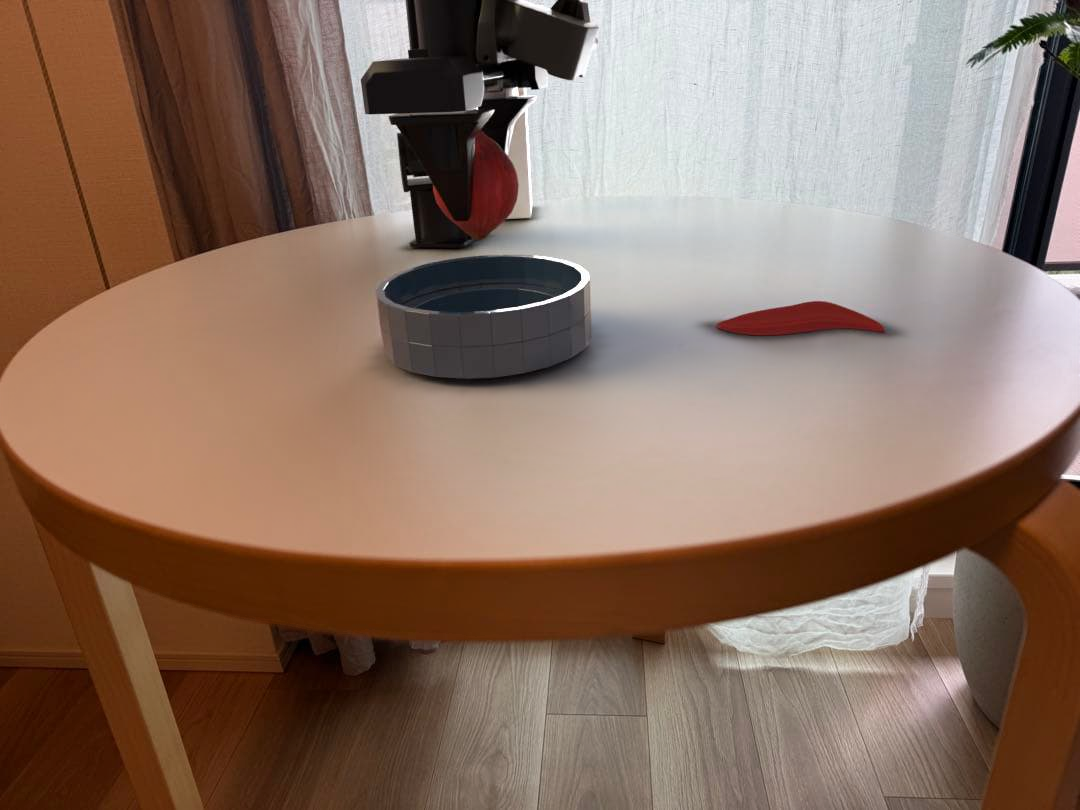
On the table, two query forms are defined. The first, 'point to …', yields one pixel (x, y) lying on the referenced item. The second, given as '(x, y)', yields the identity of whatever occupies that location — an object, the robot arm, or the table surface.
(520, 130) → the milk carton
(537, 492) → the table surface
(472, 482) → the table surface
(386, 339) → the bowl
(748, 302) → the table surface
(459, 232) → the robot arm
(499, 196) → the onion
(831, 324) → the cayenne pepper
